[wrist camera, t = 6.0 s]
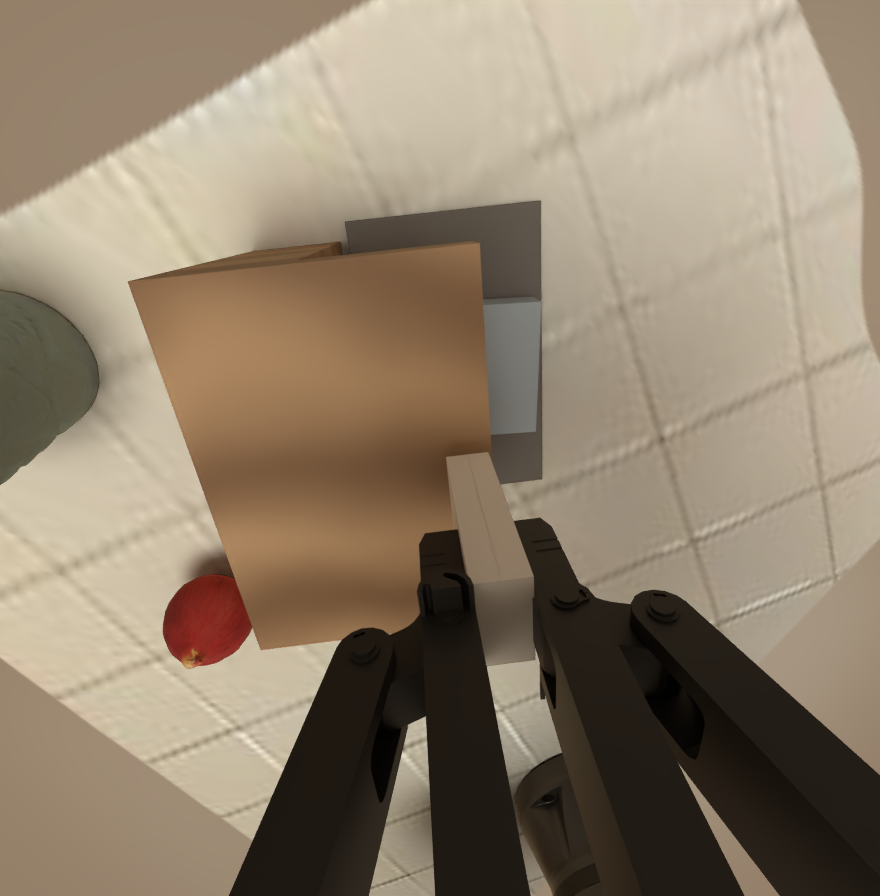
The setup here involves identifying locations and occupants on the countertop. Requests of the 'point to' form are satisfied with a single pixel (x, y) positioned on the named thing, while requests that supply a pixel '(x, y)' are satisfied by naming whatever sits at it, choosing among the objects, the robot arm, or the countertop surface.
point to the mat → (503, 276)
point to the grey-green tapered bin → (39, 379)
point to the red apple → (206, 621)
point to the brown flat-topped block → (325, 419)
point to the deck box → (512, 362)
